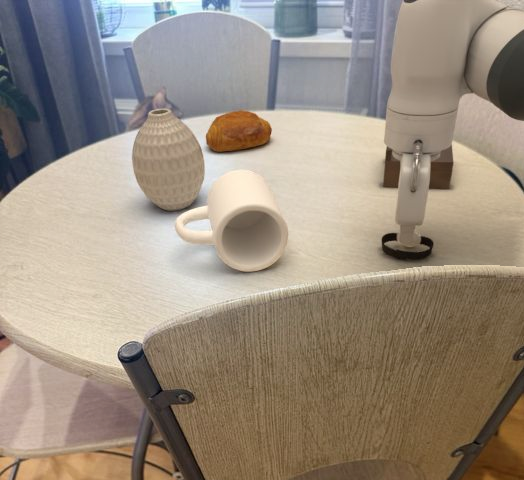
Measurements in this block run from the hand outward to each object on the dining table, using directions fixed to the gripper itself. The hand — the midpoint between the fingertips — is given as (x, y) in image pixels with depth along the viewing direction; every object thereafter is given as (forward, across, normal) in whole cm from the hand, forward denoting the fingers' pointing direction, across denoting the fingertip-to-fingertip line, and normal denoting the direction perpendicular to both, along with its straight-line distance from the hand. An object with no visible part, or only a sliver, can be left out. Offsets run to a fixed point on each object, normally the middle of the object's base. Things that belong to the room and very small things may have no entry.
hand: (406, 225), depth 79 cm
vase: (+5, +14, +43) cm, 45 cm away
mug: (+5, -3, +27) cm, 27 cm away
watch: (+5, 0, 0) cm, 5 cm away
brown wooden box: (+5, +32, -1) cm, 32 cm away
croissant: (+5, +48, +40) cm, 62 cm away
